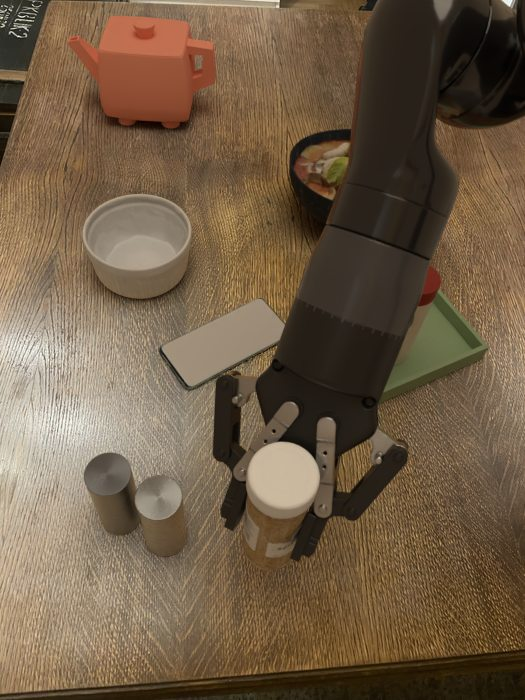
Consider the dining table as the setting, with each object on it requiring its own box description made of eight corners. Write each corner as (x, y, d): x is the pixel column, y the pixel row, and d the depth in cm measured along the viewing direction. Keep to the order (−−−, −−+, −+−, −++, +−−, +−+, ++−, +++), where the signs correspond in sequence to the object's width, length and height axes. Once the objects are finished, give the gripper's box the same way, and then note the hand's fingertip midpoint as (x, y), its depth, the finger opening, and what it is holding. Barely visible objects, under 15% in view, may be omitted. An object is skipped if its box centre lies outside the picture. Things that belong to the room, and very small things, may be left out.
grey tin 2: (192, 547, 58) (188, 510, 50) (152, 563, 57) (142, 527, 49) (179, 510, 61) (173, 468, 52) (140, 524, 59) (128, 484, 51)
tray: (428, 295, 80) (434, 282, 77) (481, 359, 74) (489, 346, 72) (308, 340, 74) (311, 327, 72) (356, 413, 68) (361, 401, 66)
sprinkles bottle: (290, 579, 47) (312, 517, 36) (233, 562, 47) (238, 496, 36) (303, 523, 49) (327, 449, 38) (249, 508, 50) (258, 431, 39)
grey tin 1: (147, 526, 59) (136, 486, 51) (107, 541, 58) (89, 502, 50) (136, 490, 61) (124, 446, 53) (96, 504, 60) (78, 461, 52)
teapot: (73, 127, 95) (53, 37, 84) (88, 82, 103) (72, -6, 91) (212, 137, 96) (212, 49, 85) (218, 92, 104) (218, 6, 92)
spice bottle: (415, 359, 73) (449, 287, 62) (382, 370, 71) (411, 299, 61) (396, 330, 75) (426, 256, 64) (363, 340, 74) (389, 267, 63)
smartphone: (156, 347, 71) (261, 296, 77) (157, 350, 71) (260, 298, 77) (187, 390, 68) (294, 333, 74) (187, 392, 68) (293, 335, 74)
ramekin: (200, 301, 76) (199, 263, 71) (93, 314, 74) (83, 275, 68) (185, 229, 84) (183, 189, 78) (88, 238, 81) (79, 198, 76)
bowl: (424, 231, 87) (446, 174, 79) (326, 272, 81) (339, 215, 73) (355, 163, 95) (368, 105, 87) (261, 196, 89) (266, 137, 81)
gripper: (235, 271, 37) (151, 517, 40) (464, 358, 34) (354, 615, 37) (265, 273, 44) (192, 482, 47) (456, 345, 41) (365, 561, 44)
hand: (264, 539), depth 42 cm, fingers closed on sprinkles bottle, 4 cm apart
